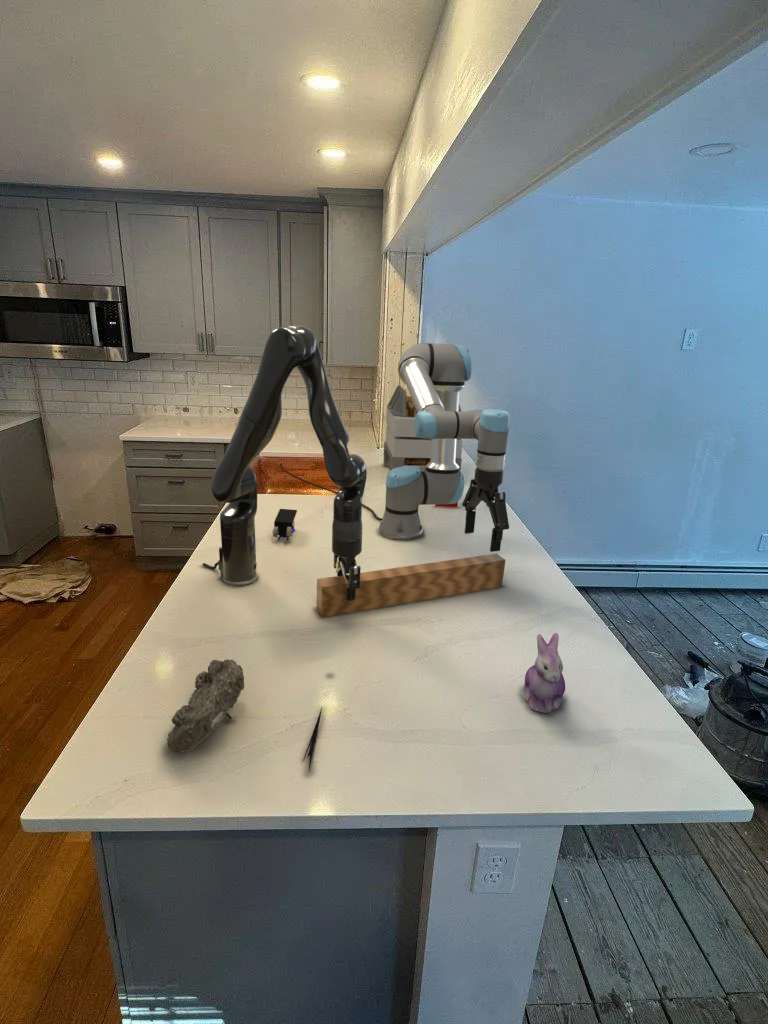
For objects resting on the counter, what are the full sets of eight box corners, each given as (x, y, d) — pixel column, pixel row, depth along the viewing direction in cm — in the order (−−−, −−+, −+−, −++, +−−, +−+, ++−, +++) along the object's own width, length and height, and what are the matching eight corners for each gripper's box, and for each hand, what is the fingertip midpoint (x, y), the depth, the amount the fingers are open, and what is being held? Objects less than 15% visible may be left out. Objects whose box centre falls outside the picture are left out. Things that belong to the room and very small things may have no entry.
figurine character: (292, 547, 188) (298, 526, 201) (292, 527, 184) (297, 507, 198) (272, 547, 187) (279, 526, 201) (271, 526, 184) (278, 506, 197)
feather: (331, 679, 122) (336, 673, 122) (307, 777, 96) (313, 769, 95) (324, 675, 122) (329, 669, 121) (298, 772, 95) (304, 764, 95)
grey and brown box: (382, 463, 289) (386, 382, 275) (445, 464, 293) (451, 384, 279) (390, 482, 257) (394, 392, 243) (460, 483, 261) (468, 394, 247)
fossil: (192, 660, 117) (244, 628, 112) (224, 691, 120) (276, 661, 115) (142, 746, 98) (202, 712, 93) (182, 779, 101) (242, 748, 96)
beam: (493, 579, 169) (496, 553, 166) (502, 586, 165) (505, 559, 162) (316, 608, 148) (316, 578, 146) (321, 617, 144) (321, 587, 141)
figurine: (543, 721, 111) (554, 655, 106) (509, 690, 119) (518, 628, 114) (578, 708, 115) (591, 644, 110) (543, 679, 123) (553, 619, 118)
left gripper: (324, 526, 147) (324, 583, 152) (342, 547, 134) (341, 608, 140) (351, 523, 149) (350, 579, 155) (371, 543, 137) (369, 603, 143)
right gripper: (454, 457, 161) (448, 527, 169) (504, 482, 140) (494, 561, 147) (477, 456, 164) (470, 524, 171) (529, 480, 143) (518, 557, 150)
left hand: (346, 593), depth 147 cm, fingers open, 7 cm apart
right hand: (481, 541), depth 159 cm, fingers open, 13 cm apart
